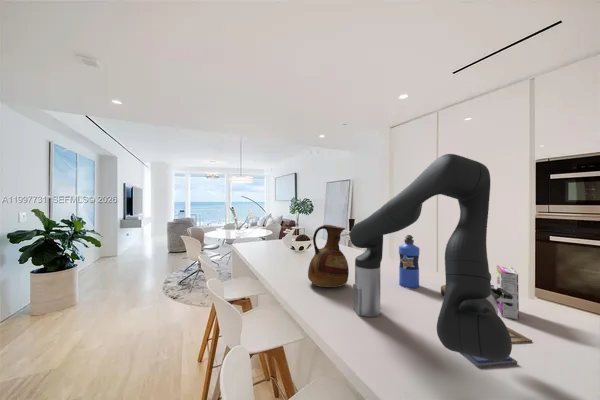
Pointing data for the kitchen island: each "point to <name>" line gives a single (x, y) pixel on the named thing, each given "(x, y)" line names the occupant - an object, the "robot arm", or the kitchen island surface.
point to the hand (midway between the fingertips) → (479, 284)
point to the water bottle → (409, 264)
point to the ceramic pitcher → (329, 260)
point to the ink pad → (489, 361)
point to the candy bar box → (509, 283)
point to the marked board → (517, 337)
